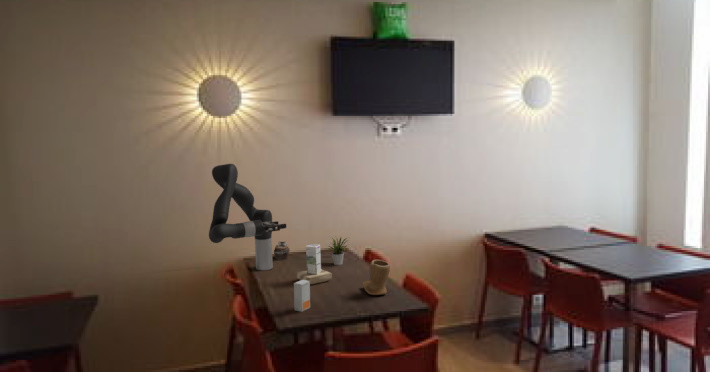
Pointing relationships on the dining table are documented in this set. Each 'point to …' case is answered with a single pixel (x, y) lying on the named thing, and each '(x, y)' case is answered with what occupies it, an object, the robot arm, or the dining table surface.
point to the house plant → (338, 251)
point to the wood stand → (315, 276)
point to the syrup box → (313, 259)
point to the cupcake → (281, 251)
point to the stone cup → (377, 277)
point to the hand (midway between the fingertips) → (282, 224)
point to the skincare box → (302, 295)
